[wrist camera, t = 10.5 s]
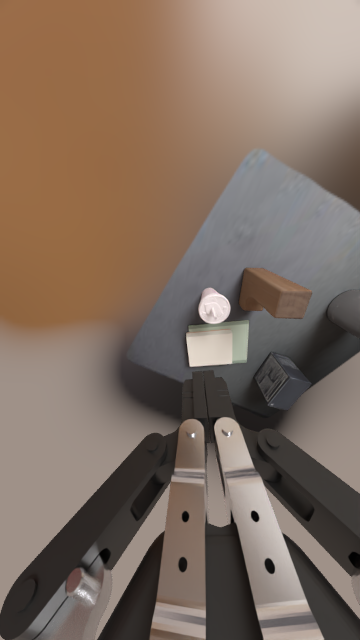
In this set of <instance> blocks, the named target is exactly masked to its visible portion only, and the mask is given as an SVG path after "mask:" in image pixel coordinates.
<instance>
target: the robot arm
mask: <svg viewBox="0 0 360 640" xmlns="http://www.w3.org/2000/svg"><path fill="white" fill-rule="evenodd" d="M327 315H328V318H329V320H330V321H332V322H333V323H335V324H336V325H338V326H340V327H341V328H343V329H344V330H346V331H348V332H349V333H351V334H352V335H354V336H356V337H357V338H359V339H360V290H350V291H346V292H344V293H342V294H340V295H338V296H337V297H336V298H335V299H334V300H333V301H332V302H331V304H330V305H329V307H328V311H327ZM192 376H193V379H190V380H185V382H184V384H183V391H182V392H183V394H182V422H181V424H180V427H179V428H178V429H177V430H176V431H175V432H173V433H171V434H168V435H166V436H164V437H163V436H162V435H161V434H159V433H152V434H150V435H148V436H146V437H145V438H144V439H143V440H142V441H141V443H140V444H139V445H138V446H137V447H136V448H135V449H134V450H133V451H132V453H131V454H130V455H129V456H128V457H127V458H126V459H125V460H124V461H123V462H122V464H121V465H120V466H119V467H118V468H117V469H116V470H115V471H114V472H113V474H111V476H110V477H109V478H108V479H107V480H106V481H105V482H104V483H103V484H102V485H101V487H100V488H99V489H98V490H97V491H96V492H95V493H94V494H93V495H92V496H91V498H90V499H89V500H88V501H87V502H86V503H85V504H84V505H83V507H81V509H80V510H79V511H78V512H77V513H76V514H75V515H74V516H73V518H72V519H71V520H70V521H69V522H68V523H67V524H66V525H65V526H64V527H63V529H62V530H61V531H60V532H59V533H58V534H57V535H56V536H55V537H54V538H53V539H52V541H51V542H50V543H49V544H48V545H47V546H46V547H45V548H44V549H43V550H42V552H41V553H40V554H39V555H38V556H37V557H36V558H35V559H34V561H32V563H31V564H30V565H29V566H28V567H27V568H26V569H25V570H24V571H23V572H22V574H21V575H20V576H19V577H18V579H17V580H16V581H15V583H14V584H13V586H12V588H11V589H10V591H9V593H8V595H7V597H6V599H5V601H4V604H3V607H2V610H1V613H0V635H1V637H2V638H3V639H5V640H94V639H95V634H96V631H97V627H98V625H99V622H100V619H101V617H102V615H103V613H104V611H105V609H106V607H107V605H108V602H109V599H110V595H111V591H112V574H111V570H112V569H113V567H114V566H115V564H116V563H117V561H118V560H119V558H120V557H121V555H122V554H123V552H124V551H125V549H126V548H127V546H128V545H129V543H130V542H131V540H132V539H133V537H134V536H135V534H136V533H137V531H138V530H139V528H140V527H141V525H142V524H143V522H144V521H145V519H146V518H147V516H148V515H149V513H150V512H151V510H152V509H153V507H154V506H155V504H156V503H157V501H158V500H159V498H160V497H161V495H162V494H163V492H164V491H165V489H166V488H167V486H168V485H169V483H170V482H171V484H170V493H169V501H168V509H167V517H166V526H165V531H164V532H162V533H161V534H160V535H159V536H158V537H157V538H156V539H155V540H154V542H153V543H152V545H151V546H150V547H149V549H148V551H147V553H146V555H145V556H144V558H143V560H142V561H141V563H140V565H139V567H138V568H137V570H136V572H135V574H134V576H133V577H132V579H131V581H130V583H129V585H128V586H127V588H126V590H125V591H124V593H123V595H122V597H121V599H120V601H119V602H118V604H117V606H116V607H115V609H114V611H113V613H112V615H111V616H110V618H109V620H108V622H107V623H106V625H105V627H104V629H103V630H102V632H101V634H100V636H99V638H98V639H97V640H360V619H359V618H358V617H357V615H356V614H355V613H354V612H353V610H352V609H351V608H350V607H349V606H348V604H347V603H346V602H345V601H344V600H343V599H342V597H341V596H340V595H339V594H338V593H337V591H336V590H335V589H334V588H333V587H332V585H331V584H330V583H329V582H328V581H327V579H326V578H325V577H324V576H323V575H322V573H321V572H320V571H319V570H318V569H317V567H316V566H315V565H314V564H313V563H312V561H311V560H310V559H309V558H308V557H307V555H306V554H305V553H304V552H303V551H302V550H301V548H300V547H299V546H298V545H297V544H296V543H294V541H292V540H291V539H290V538H289V537H288V536H286V535H285V534H283V533H282V532H281V530H280V527H279V524H278V522H277V519H276V516H275V513H274V511H273V508H272V505H271V503H270V500H269V497H268V494H267V492H266V489H265V487H266V488H267V489H268V490H269V491H270V492H271V493H272V494H273V495H274V496H275V497H276V498H277V499H278V500H279V501H280V502H281V504H282V505H284V507H285V508H286V509H287V510H288V511H289V512H290V513H291V514H292V515H293V516H294V517H295V518H296V519H297V520H298V521H299V522H300V523H301V525H302V526H303V527H304V528H305V529H306V530H307V531H308V532H309V533H310V534H311V535H312V536H313V537H314V538H315V539H316V540H317V541H318V542H319V543H320V545H321V546H322V547H324V549H325V550H326V551H327V552H328V553H329V554H330V555H331V556H332V557H333V558H334V559H335V560H336V561H337V562H338V563H339V564H340V566H342V568H343V569H344V570H345V571H346V572H347V573H348V574H349V575H350V576H351V577H352V587H353V591H354V594H355V596H356V599H357V601H358V603H359V605H360V494H359V493H358V492H356V491H355V490H354V489H353V488H351V487H350V486H349V485H347V484H346V483H345V482H343V481H342V480H341V479H340V478H338V477H337V476H336V475H334V474H333V473H332V472H330V471H329V470H328V469H326V468H325V467H324V466H322V465H321V464H320V463H319V462H317V461H316V460H315V459H313V458H312V457H311V456H309V455H308V454H307V453H305V452H304V451H303V450H302V449H300V448H299V447H298V446H296V445H295V444H294V443H292V442H291V441H290V440H288V439H287V438H286V437H284V436H283V435H282V434H280V433H279V432H278V431H276V430H273V429H263V430H261V431H260V432H256V431H252V430H248V429H246V428H244V427H243V426H241V425H240V424H239V423H238V421H237V420H236V418H235V414H234V411H233V407H232V403H231V399H230V396H229V392H228V388H227V384H226V382H225V381H224V380H223V378H222V377H218V378H215V377H214V372H213V370H209V371H203V373H202V371H196V372H192ZM203 376H204V382H203ZM204 388H205V390H204ZM205 397H206V399H205ZM206 406H207V408H206ZM207 414H208V416H207ZM208 423H209V428H208ZM209 430H210V440H211V443H214V444H215V451H216V461H217V465H218V471H219V475H220V481H221V486H222V491H223V496H224V500H225V507H226V514H227V520H228V525H226V526H224V527H217V526H214V525H211V524H209V511H208V485H207V484H208V483H207V455H208V454H207V443H210V440H209Z"/></svg>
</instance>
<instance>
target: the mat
mask: <svg viewBox="0 0 360 640" xmlns="http://www.w3.org/2000/svg"><path fill="white" fill-rule="evenodd" d="M188 328H189V332H199V331H210V330H221V329H231V331H232V333H233V336H232V363H245V362H247V346H248V328H249V320H242V321H232V322H221V323H218V324H199V325H188Z"/></svg>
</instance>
